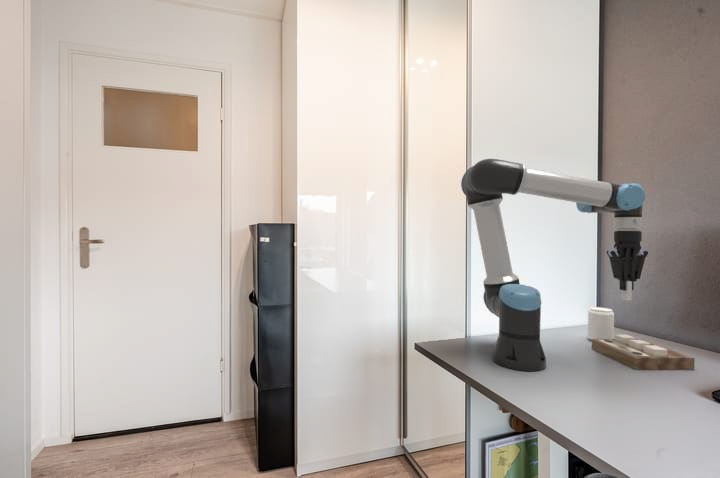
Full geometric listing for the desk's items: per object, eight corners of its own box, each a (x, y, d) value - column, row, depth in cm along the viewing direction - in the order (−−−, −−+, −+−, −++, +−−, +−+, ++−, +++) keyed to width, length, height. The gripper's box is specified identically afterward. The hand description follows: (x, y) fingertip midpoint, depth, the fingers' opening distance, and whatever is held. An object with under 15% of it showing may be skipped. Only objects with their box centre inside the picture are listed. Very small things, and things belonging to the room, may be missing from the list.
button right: (654, 360, 108) (654, 349, 108) (643, 356, 112) (643, 345, 112) (667, 360, 108) (667, 349, 108) (655, 356, 112) (656, 345, 112)
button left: (623, 348, 120) (623, 337, 120) (614, 344, 124) (614, 334, 124) (635, 348, 120) (635, 337, 120) (625, 344, 124) (626, 334, 124)
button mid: (638, 354, 114) (638, 343, 114) (628, 350, 118) (628, 339, 118) (650, 354, 114) (650, 343, 114) (639, 349, 118) (640, 339, 118)
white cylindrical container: (618, 344, 131) (619, 311, 131) (596, 343, 131) (597, 311, 131) (604, 337, 139) (604, 306, 139) (583, 337, 139) (583, 306, 139)
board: (635, 369, 106) (635, 357, 106) (591, 348, 125) (591, 338, 125) (694, 369, 107) (694, 356, 107) (641, 348, 126) (642, 338, 126)
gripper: (617, 230, 117) (615, 302, 118) (655, 230, 118) (654, 302, 118) (600, 230, 125) (599, 298, 125) (637, 230, 125) (636, 297, 126)
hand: (626, 299), depth 122 cm, fingers closed
